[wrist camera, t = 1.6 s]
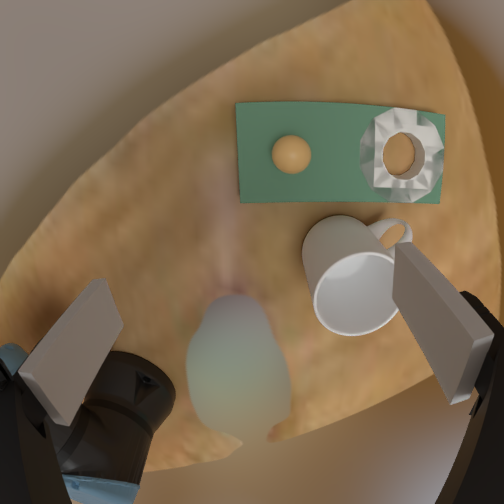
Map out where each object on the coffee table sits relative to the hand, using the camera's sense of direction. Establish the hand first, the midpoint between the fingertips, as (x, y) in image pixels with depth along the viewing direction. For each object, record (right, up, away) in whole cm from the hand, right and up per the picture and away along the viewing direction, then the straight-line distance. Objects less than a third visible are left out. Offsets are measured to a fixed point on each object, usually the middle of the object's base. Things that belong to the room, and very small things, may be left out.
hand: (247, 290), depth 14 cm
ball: (+4, +10, +14) cm, 18 cm away
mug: (+11, +3, +22) cm, 25 cm away
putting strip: (+10, +12, +18) cm, 24 cm away
